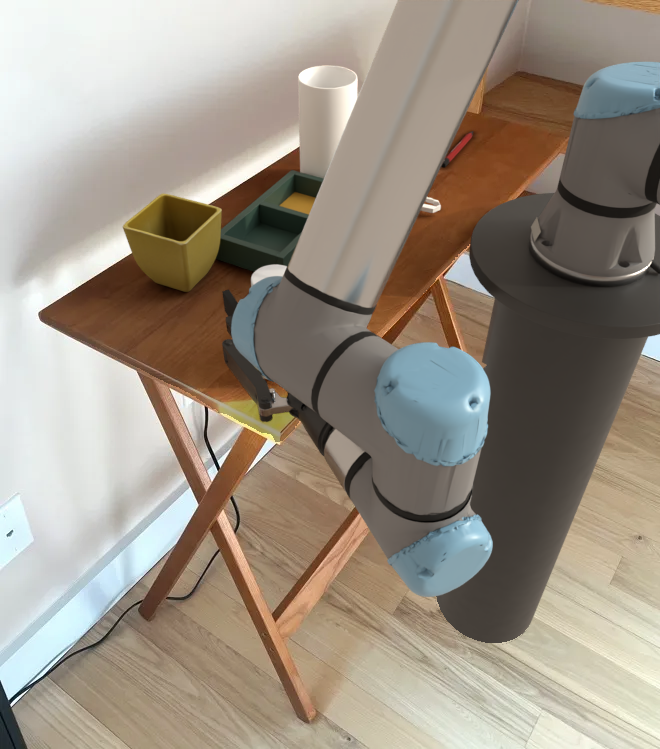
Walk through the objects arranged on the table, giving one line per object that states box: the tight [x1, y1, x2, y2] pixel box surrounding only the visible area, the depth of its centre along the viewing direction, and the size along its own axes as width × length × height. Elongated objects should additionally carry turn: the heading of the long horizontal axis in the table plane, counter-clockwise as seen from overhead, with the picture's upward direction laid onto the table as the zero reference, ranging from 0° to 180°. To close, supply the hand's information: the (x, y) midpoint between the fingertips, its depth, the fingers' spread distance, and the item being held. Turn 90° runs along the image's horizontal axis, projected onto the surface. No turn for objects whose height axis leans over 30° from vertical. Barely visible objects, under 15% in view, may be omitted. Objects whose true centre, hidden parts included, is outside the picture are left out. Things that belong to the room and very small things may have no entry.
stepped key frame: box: [420, 196, 442, 214], centre depth 105 cm, size 13×5×2 cm, turn 68°
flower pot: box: [122, 192, 223, 293], centre depth 89 cm, size 9×9×9 cm
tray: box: [215, 169, 324, 273], centre depth 98 cm, size 10×20×4 cm, turn 152°
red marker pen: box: [441, 130, 474, 168], centre depth 118 cm, size 1×14×1 cm, turn 152°
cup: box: [297, 65, 359, 178], centre depth 104 cm, size 8×8×16 cm
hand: (258, 291), depth 78 cm, fingers closed on pill bottle, 6 cm apart
